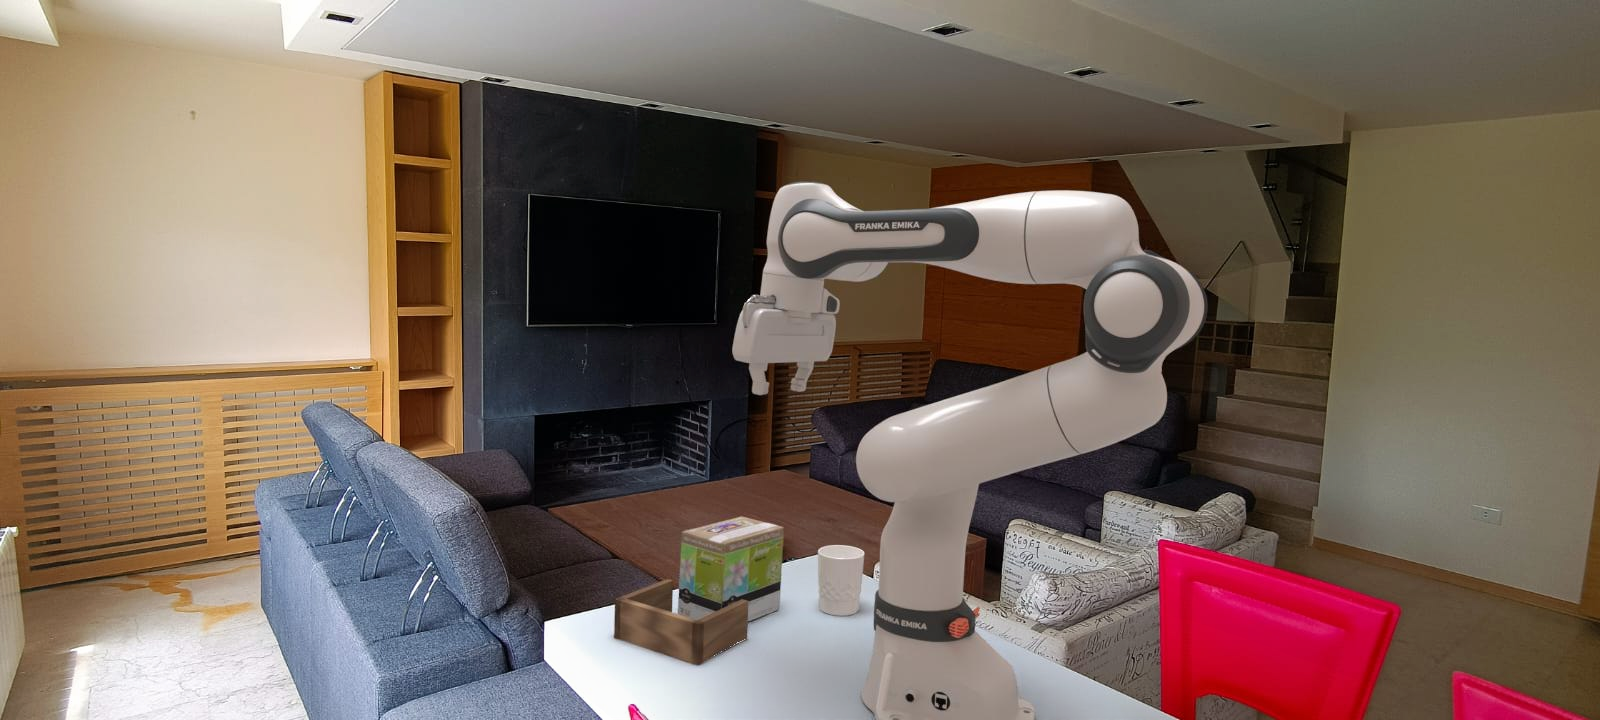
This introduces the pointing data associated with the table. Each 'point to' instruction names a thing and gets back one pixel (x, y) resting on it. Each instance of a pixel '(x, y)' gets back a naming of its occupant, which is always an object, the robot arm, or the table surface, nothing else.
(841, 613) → the white cup
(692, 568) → the tea box
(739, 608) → the wooden box
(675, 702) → the table surface
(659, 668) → the table surface
